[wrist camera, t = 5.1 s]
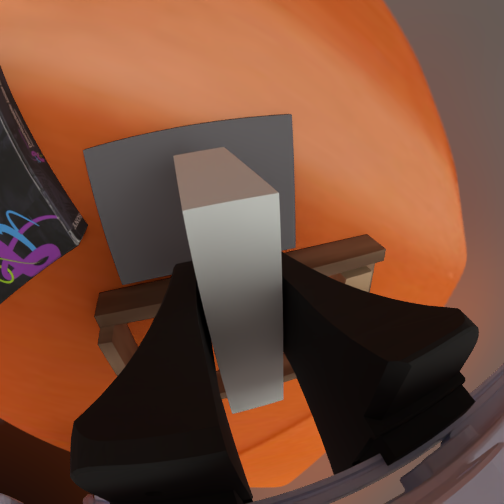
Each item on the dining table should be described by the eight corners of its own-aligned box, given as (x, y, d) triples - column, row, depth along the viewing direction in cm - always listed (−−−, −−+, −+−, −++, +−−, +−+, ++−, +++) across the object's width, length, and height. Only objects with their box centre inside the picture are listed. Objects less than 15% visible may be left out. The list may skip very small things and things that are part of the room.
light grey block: (242, 304, 15) (283, 399, 10) (205, 313, 15) (232, 413, 10) (223, 147, 11) (279, 192, 6) (173, 155, 11) (182, 210, 6)
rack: (349, 337, 28) (369, 364, 25) (150, 390, 24) (153, 425, 21) (367, 234, 22) (398, 259, 19) (99, 292, 18) (91, 332, 15)
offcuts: (344, 330, 28) (362, 356, 24) (320, 338, 27) (337, 366, 24) (355, 252, 23) (382, 277, 20) (327, 259, 22) (352, 286, 19)
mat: (293, 244, 21) (295, 247, 20) (122, 281, 18) (122, 284, 18) (289, 114, 16) (291, 114, 16) (84, 149, 14) (83, 150, 13)
